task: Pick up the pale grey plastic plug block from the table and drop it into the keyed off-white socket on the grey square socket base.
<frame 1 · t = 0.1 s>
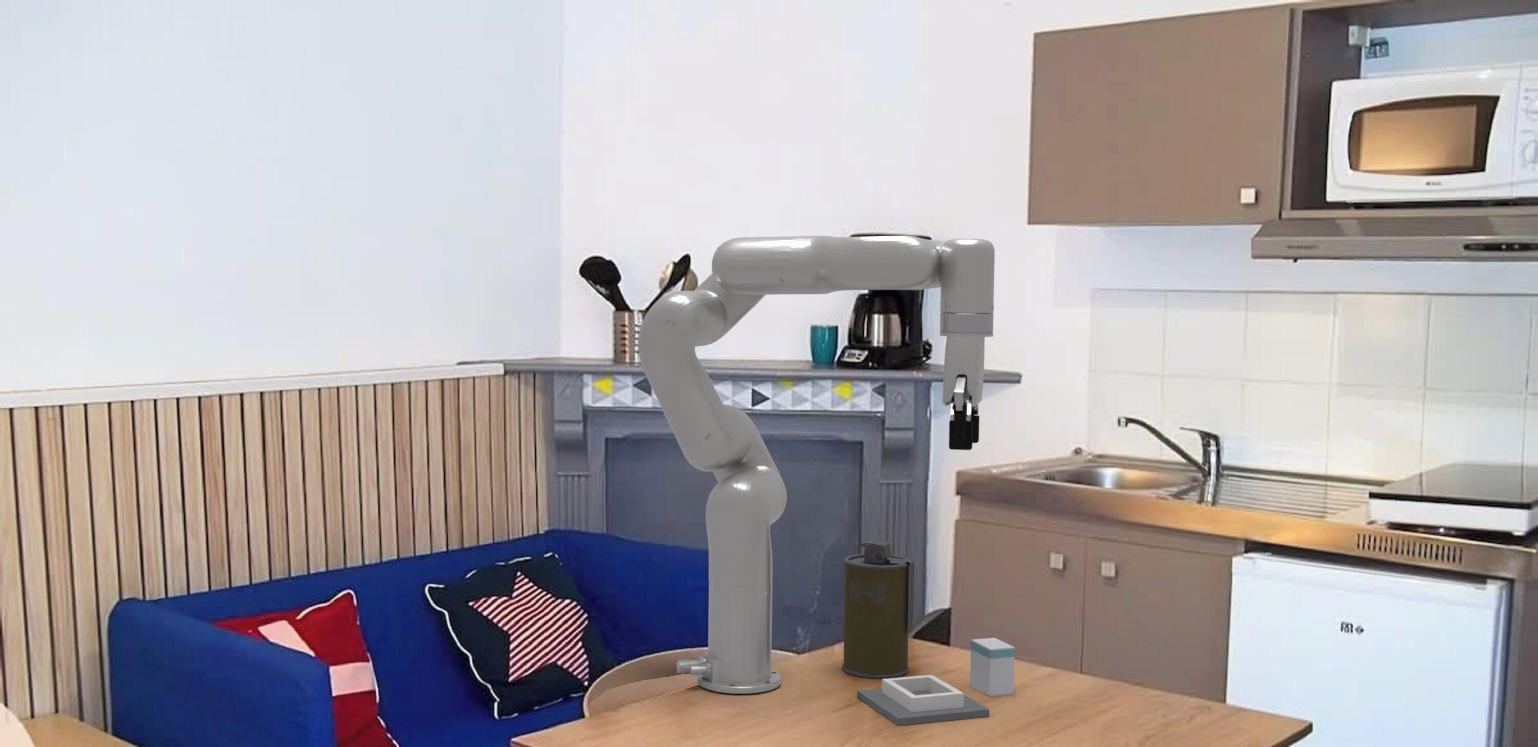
hand: (964, 445, 203), 37 cm above the table, tool pointing down, fingers open, 9 cm apart
grey square socket base: (921, 706, 202), on the table
canister: (876, 670, 222), on the table
plug: (991, 689, 212), on the table
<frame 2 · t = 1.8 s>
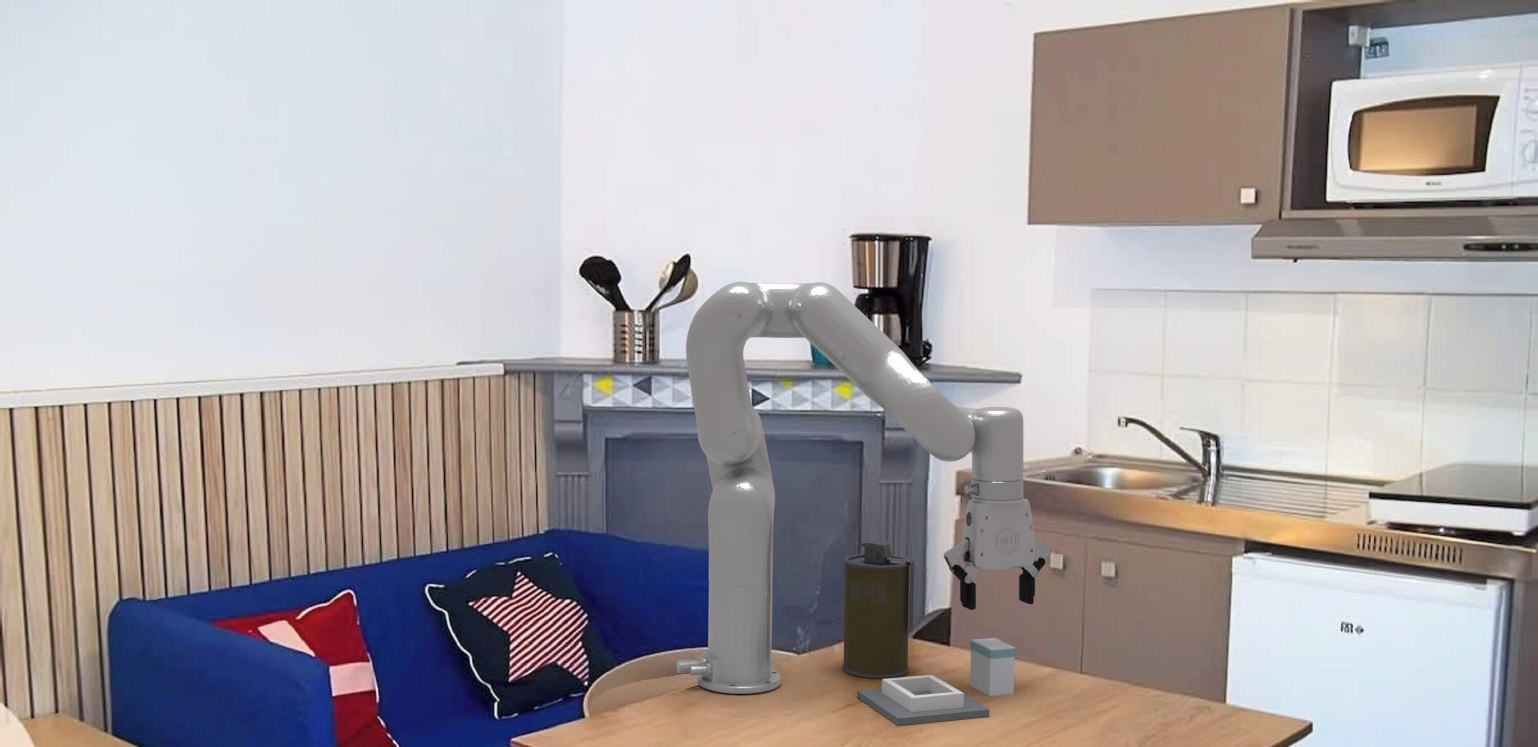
hand: (997, 604, 211), 13 cm above the table, tool pointing down, fingers open, 9 cm apart
nothing on the table moved.
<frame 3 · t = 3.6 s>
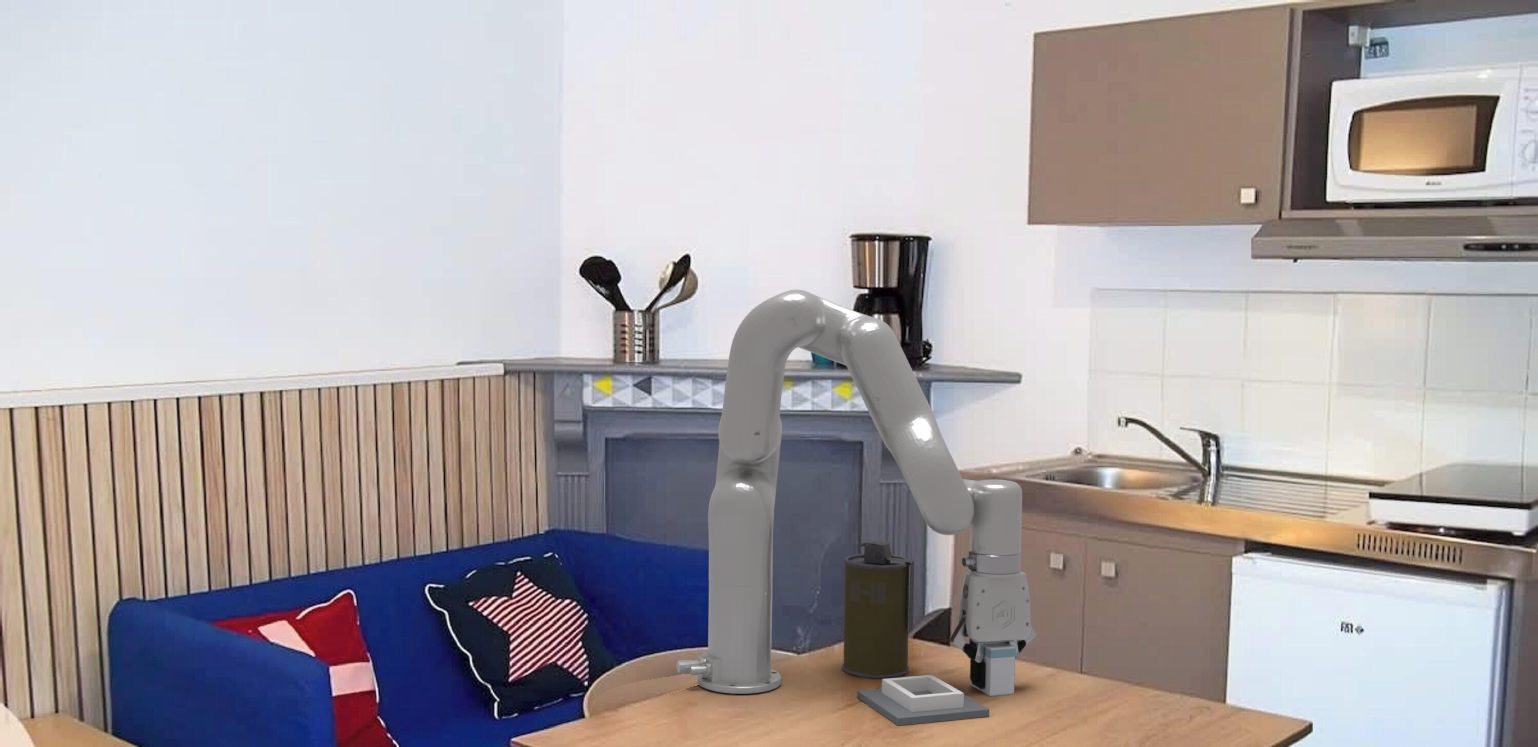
hand: (992, 683, 212), 1 cm above the table, tool pointing down, fingers closed on plug, 4 cm apart
plug: (992, 689, 212), on the table, touching gripper
everything else where it was.
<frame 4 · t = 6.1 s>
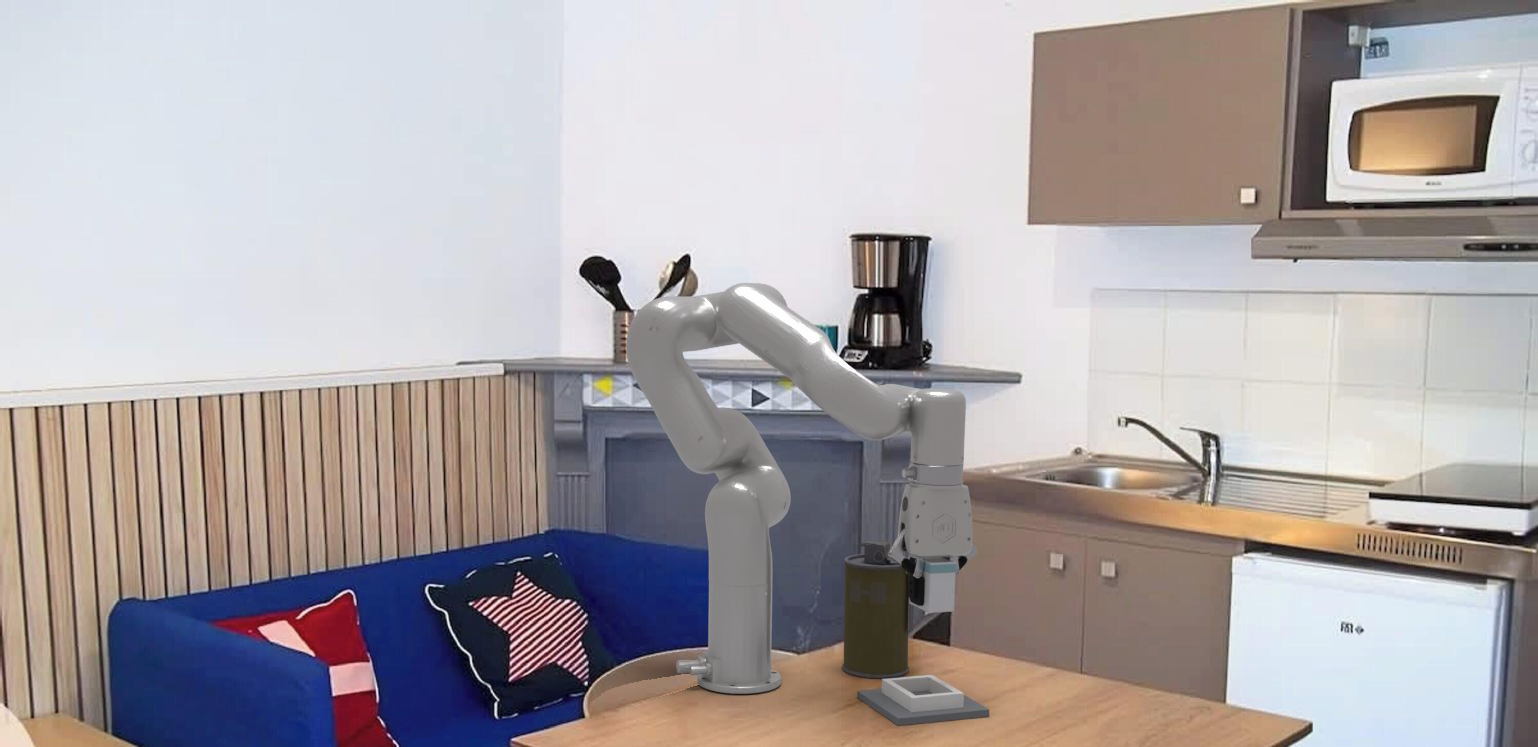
hand: (931, 601, 203), 15 cm above the table, tool pointing down, fingers closed on plug, 4 cm apart
plug: (931, 607, 203), point 14 cm above the table, touching gripper
everything else where it was.
when the fingers open (4 cm above the table, at t = 8.8 s): plug drops 2 cm, resting on grey square socket base.
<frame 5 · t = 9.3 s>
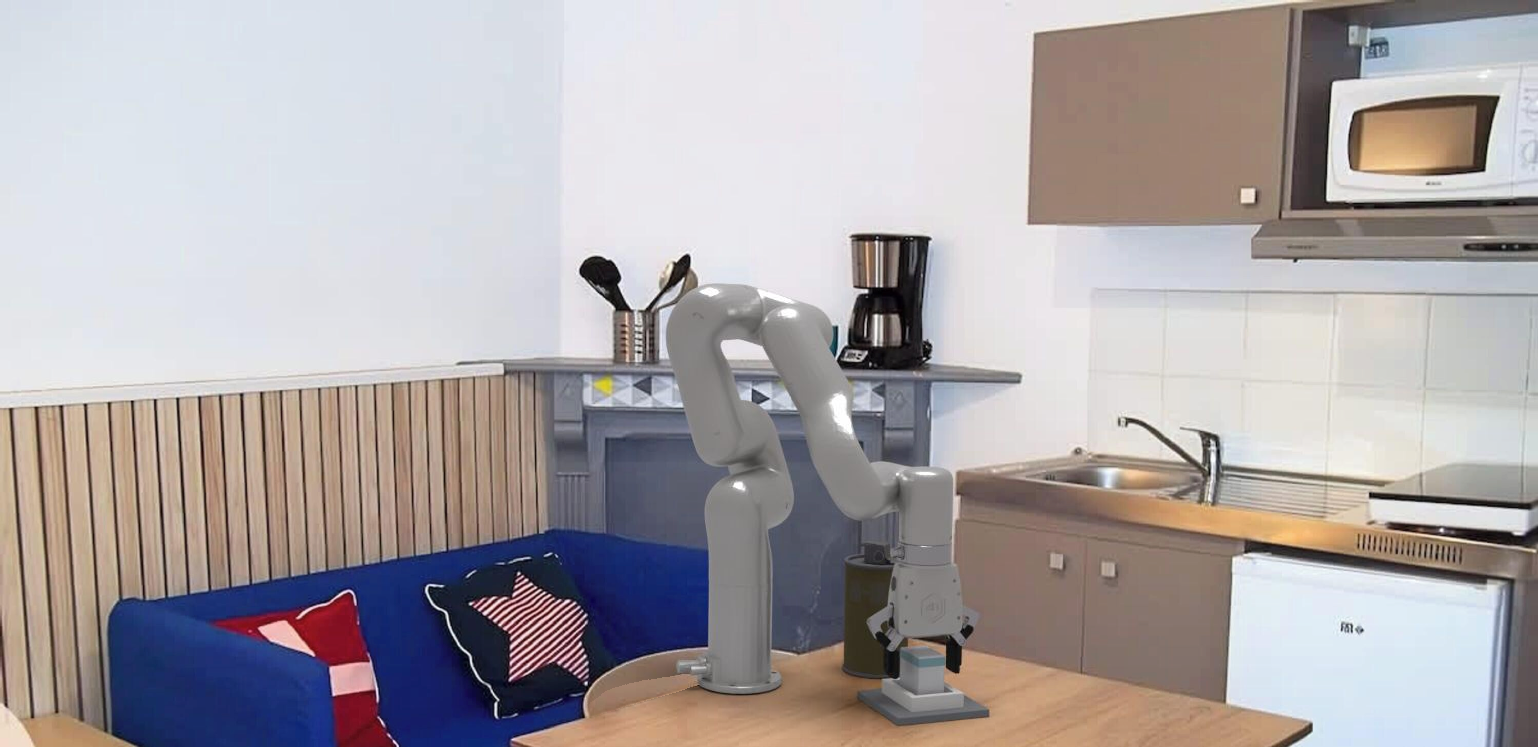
hand: (922, 673, 202), 5 cm above the table, tool pointing down, fingers open, 9 cm apart
plug: (921, 699, 202), point 1 cm above the table, touching grey square socket base
everything else where it was.
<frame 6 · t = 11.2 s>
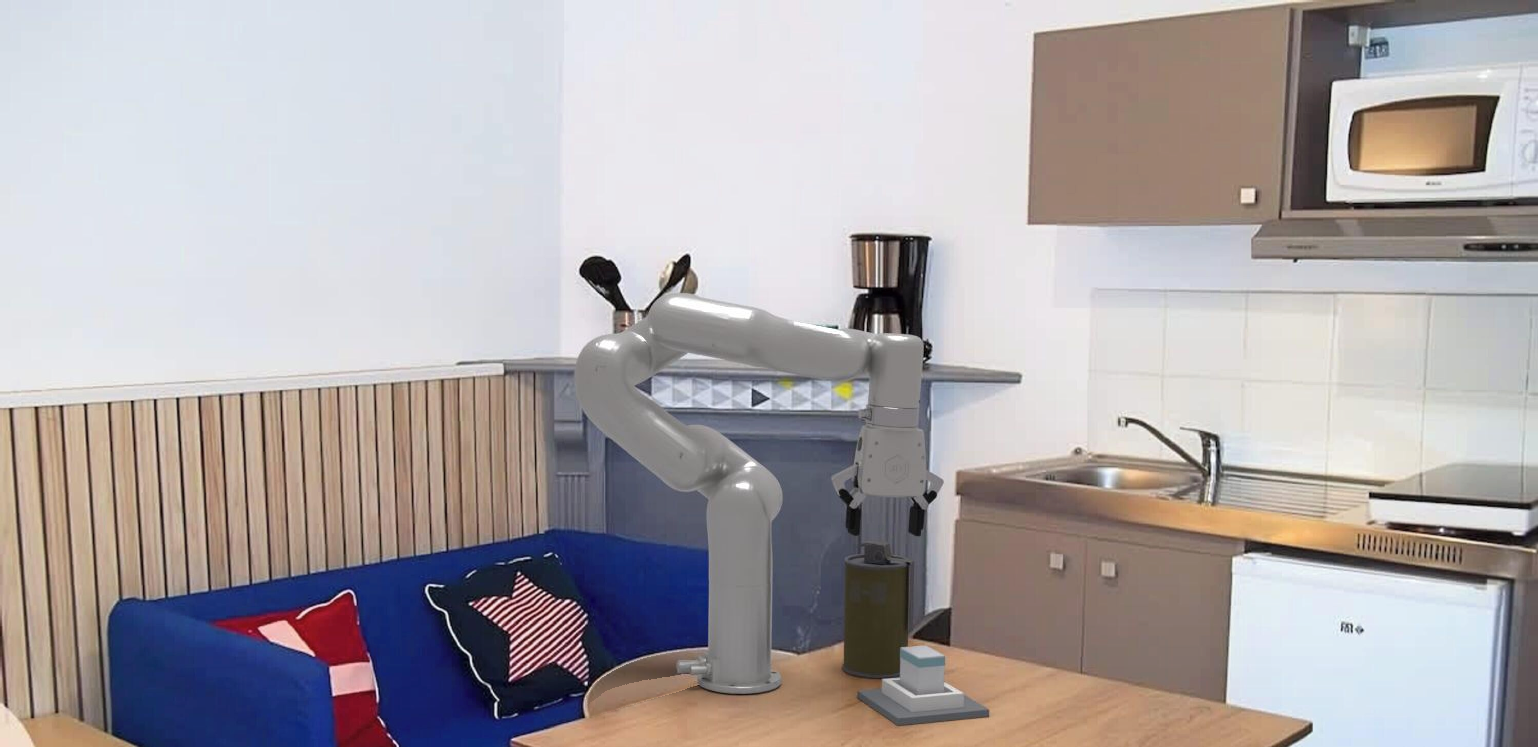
hand: (884, 534, 208), 23 cm above the table, tool pointing down, fingers open, 9 cm apart
nothing on the table moved.
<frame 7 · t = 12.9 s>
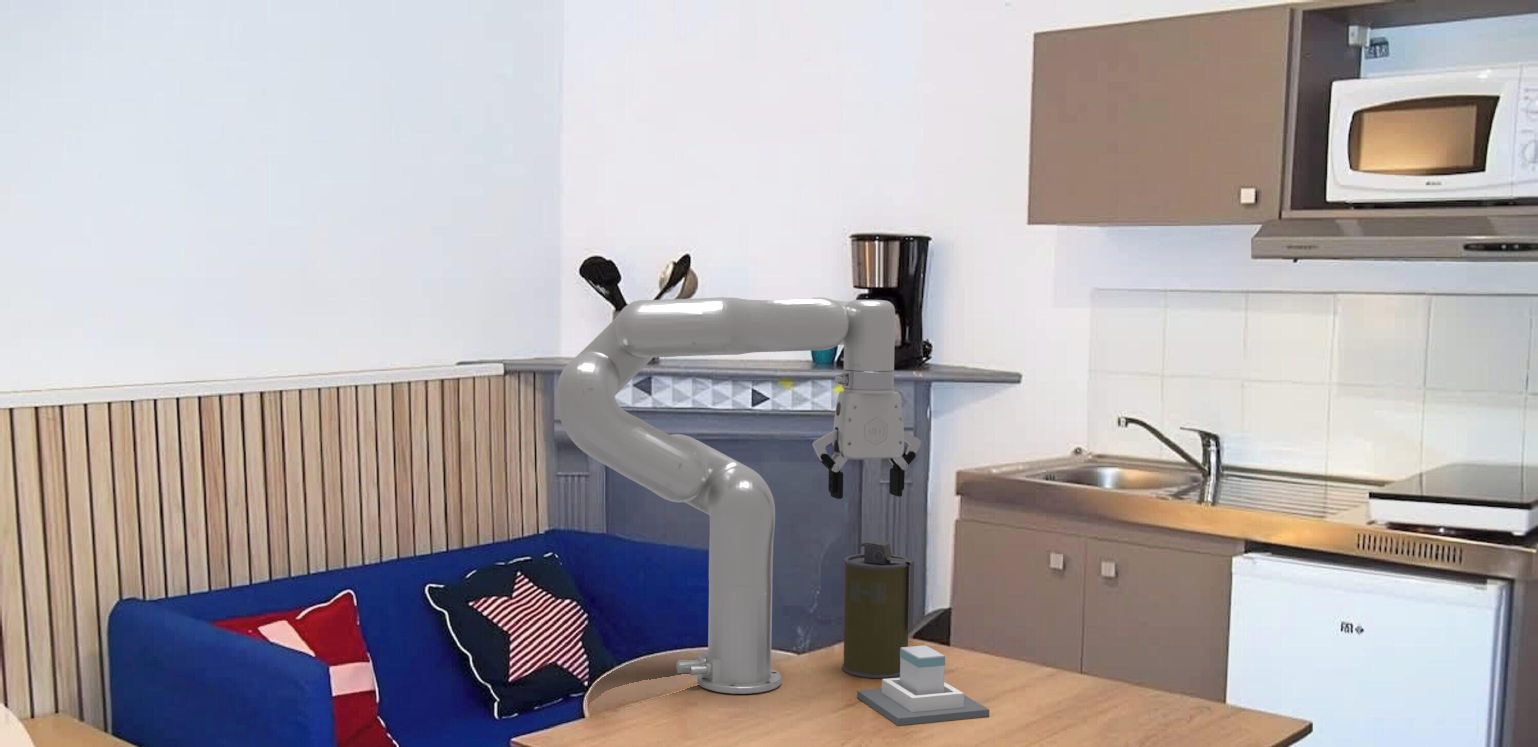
hand: (866, 496, 213), 28 cm above the table, tool pointing down, fingers open, 9 cm apart
nothing on the table moved.
at the end: plug 0.1 cm off-centre on the grey square socket base, point 1.0 cm above the grey square socket base's base; plug tilted 0°; the gripper is holding nothing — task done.
